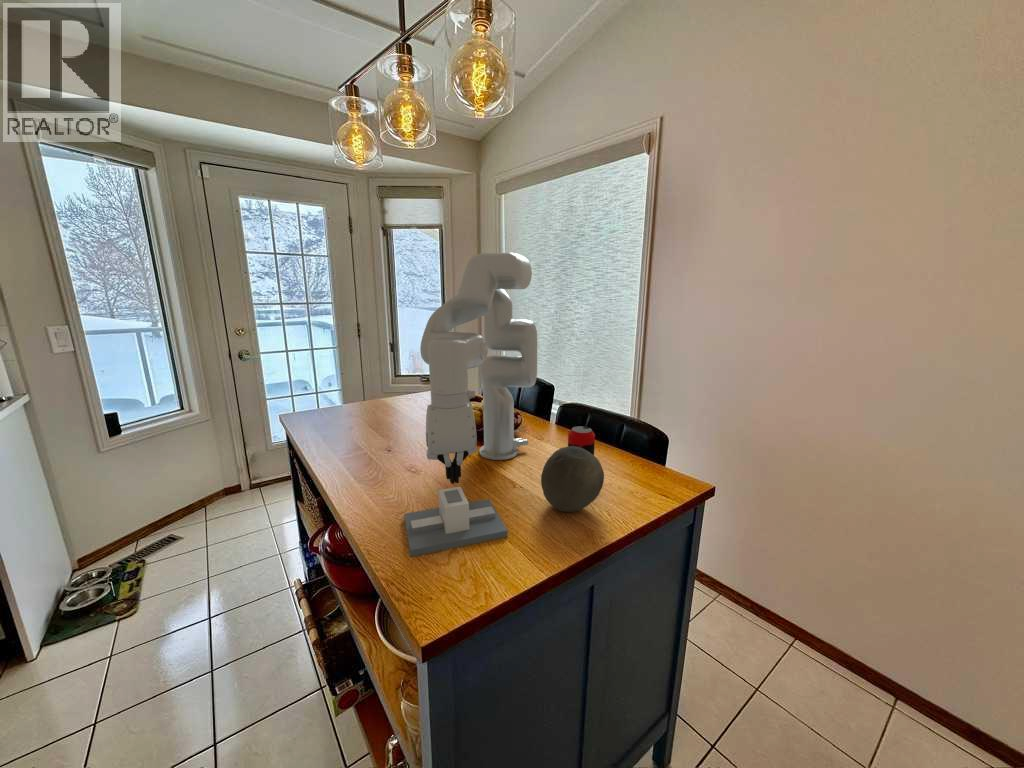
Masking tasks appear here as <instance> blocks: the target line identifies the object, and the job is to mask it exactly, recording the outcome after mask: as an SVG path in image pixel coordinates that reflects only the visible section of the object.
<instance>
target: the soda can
mask: <svg viewBox="0 0 1024 768" xmlns="http://www.w3.org/2000/svg"><path fill="white" fill-rule="evenodd" d="M595 442H596V434H595V433H594V431H593V429H592V428H590V427H587V426H580V425H579V426H573V427H572V428H571V429H570V430H569V431H568V433H567V447H568V446H576V447H581V448H583V449H585V450H587V451H588V452H590V453H591V454H593V455H594V456H595Z"/></svg>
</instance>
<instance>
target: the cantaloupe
mask: <svg viewBox="0 0 1024 768" xmlns="http://www.w3.org/2000/svg"><path fill="white" fill-rule="evenodd" d="M604 481H605V473H604V469H603V466H602V464H601V462H600V460H599V459H598V458H597V457H596V456H595V454H594V455H593V454H591V453H590V452H588V451H587V450H585V449H583V448H581V447H576V446H568V445H567V446H564V447H561V448H559V449H557V450H555V451H554V452H553V453H552V454H551V455H550V456H549V458H547V460H546V461H545V464H544V466H543V468H542V472H541V477H540V484H541V488H542V492H543V496H544V498H545V499H546V501H547V502H548V504H550V505H551V506H552V507H553V508H554V509H556V510H558V511H561V512H565V513H566V512H567V513H569V512H570V513H572V512H577V511H580V510H583V509H585V508H586V507H588V506H590V504H592V503H593V502H594V501H595V500H596V499H597V497H598V496H599V494H600V493H601V490H602V488H603V484H604Z"/></svg>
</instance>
